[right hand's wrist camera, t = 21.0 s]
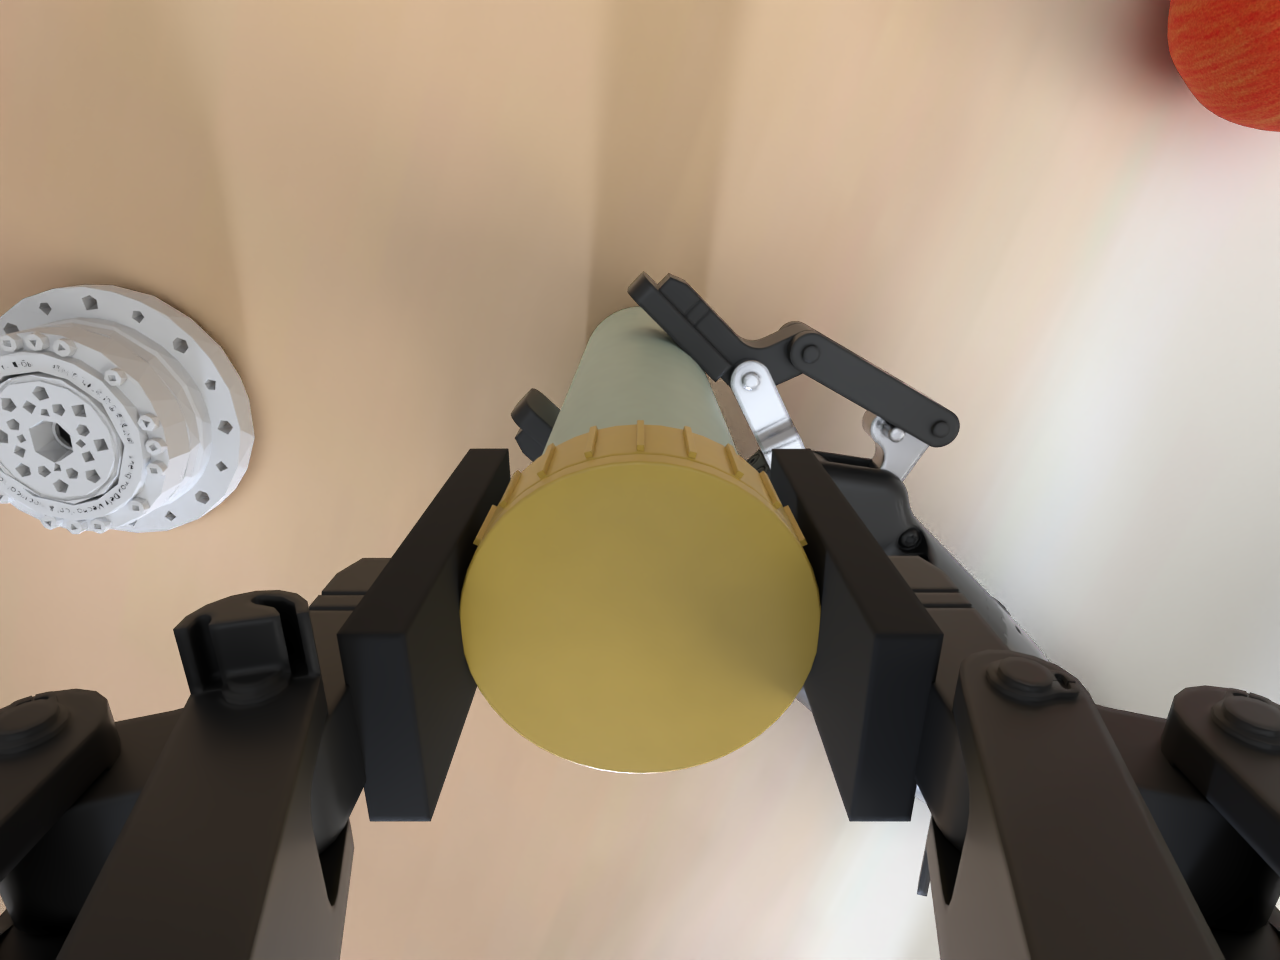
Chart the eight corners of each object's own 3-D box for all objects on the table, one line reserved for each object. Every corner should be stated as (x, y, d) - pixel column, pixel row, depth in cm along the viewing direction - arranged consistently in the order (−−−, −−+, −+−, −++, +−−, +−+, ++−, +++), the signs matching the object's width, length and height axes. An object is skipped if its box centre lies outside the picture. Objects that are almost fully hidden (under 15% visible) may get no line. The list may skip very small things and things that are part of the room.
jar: (595, 295, 27) (518, 435, 10) (708, 319, 28) (820, 496, 10) (575, 405, 29) (478, 690, 12) (682, 427, 29) (742, 735, 12)
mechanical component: (270, 527, 31) (244, 295, 27) (212, 576, 27) (174, 310, 23) (37, 509, 30) (-19, 271, 27) (-57, 555, 26) (-138, 282, 23)
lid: (431, 468, 11) (394, 513, 10) (764, 378, 11) (786, 409, 9) (538, 730, 13) (523, 808, 11) (826, 665, 13) (855, 736, 11)
